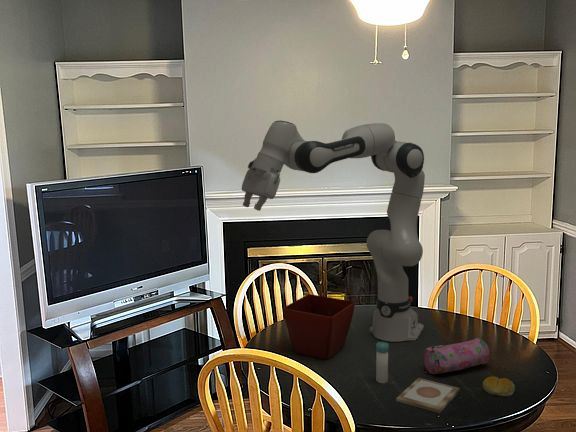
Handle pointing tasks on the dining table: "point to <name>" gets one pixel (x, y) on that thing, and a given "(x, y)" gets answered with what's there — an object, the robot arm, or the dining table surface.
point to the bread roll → (498, 386)
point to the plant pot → (318, 324)
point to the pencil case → (456, 356)
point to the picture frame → (428, 395)
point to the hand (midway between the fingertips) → (250, 208)
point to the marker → (382, 362)
